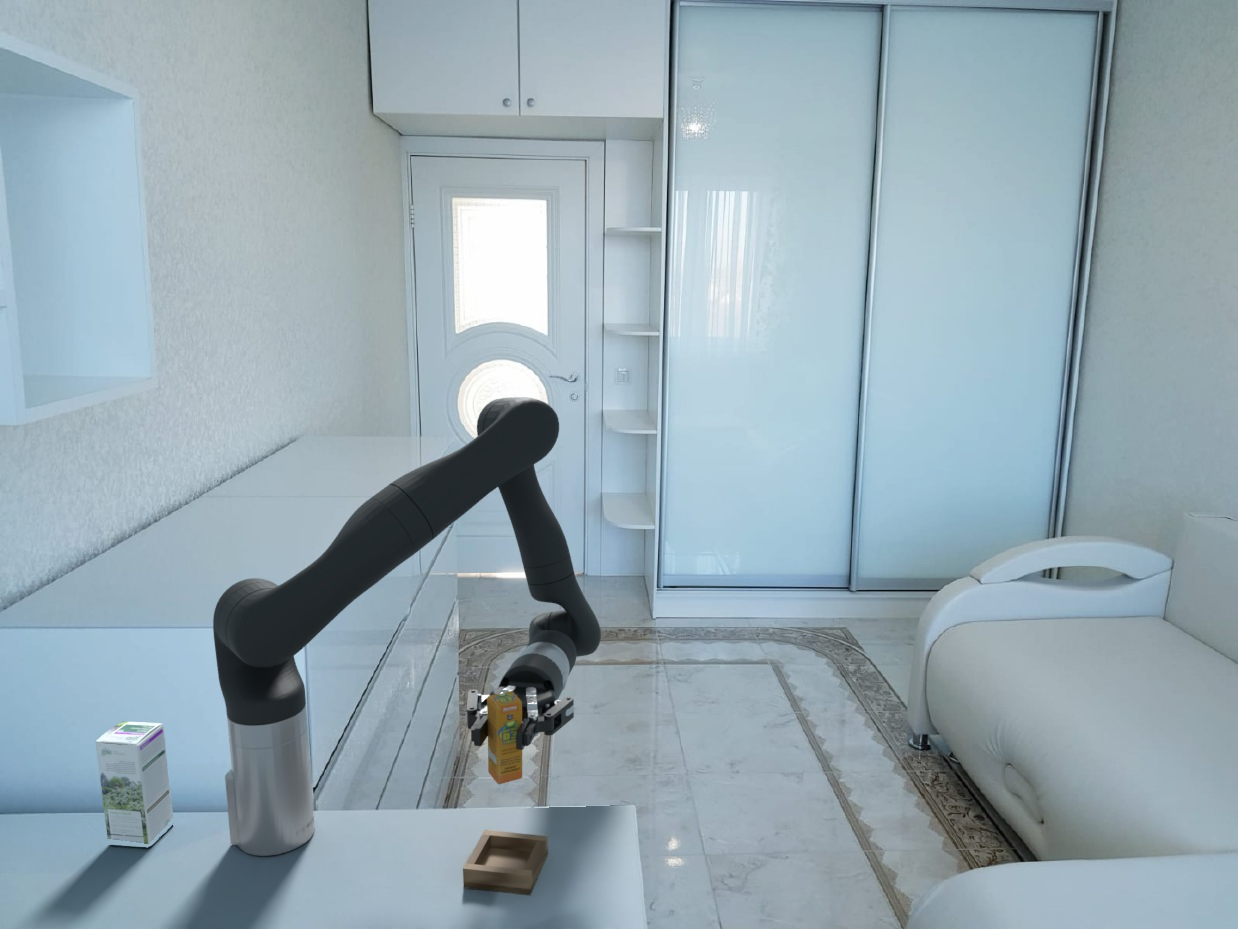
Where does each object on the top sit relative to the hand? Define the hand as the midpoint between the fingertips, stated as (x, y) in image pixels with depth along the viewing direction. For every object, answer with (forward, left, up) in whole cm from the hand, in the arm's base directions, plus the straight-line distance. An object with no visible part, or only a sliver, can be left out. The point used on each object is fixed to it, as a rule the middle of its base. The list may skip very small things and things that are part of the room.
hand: (498, 740), depth 108 cm
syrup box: (-48, +1, -18) cm, 51 cm away
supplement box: (0, +3, -6) cm, 7 cm away
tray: (0, +2, -18) cm, 18 cm away
